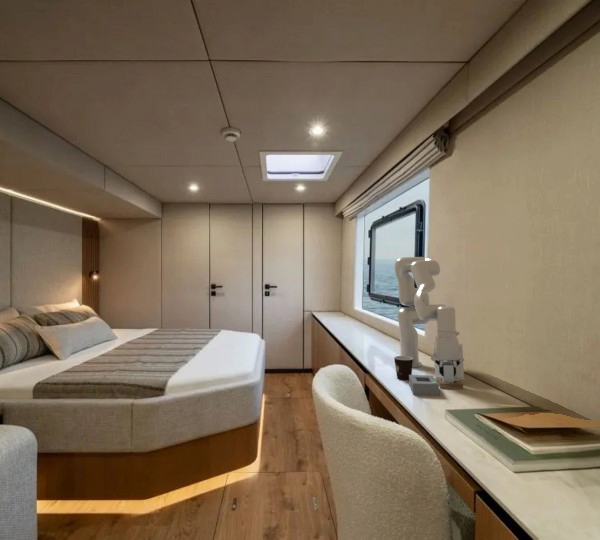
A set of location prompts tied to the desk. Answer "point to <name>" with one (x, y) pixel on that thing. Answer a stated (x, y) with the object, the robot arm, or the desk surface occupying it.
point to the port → (423, 385)
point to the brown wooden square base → (449, 384)
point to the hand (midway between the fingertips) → (447, 375)
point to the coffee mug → (403, 367)
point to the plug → (448, 372)
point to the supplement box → (459, 368)
